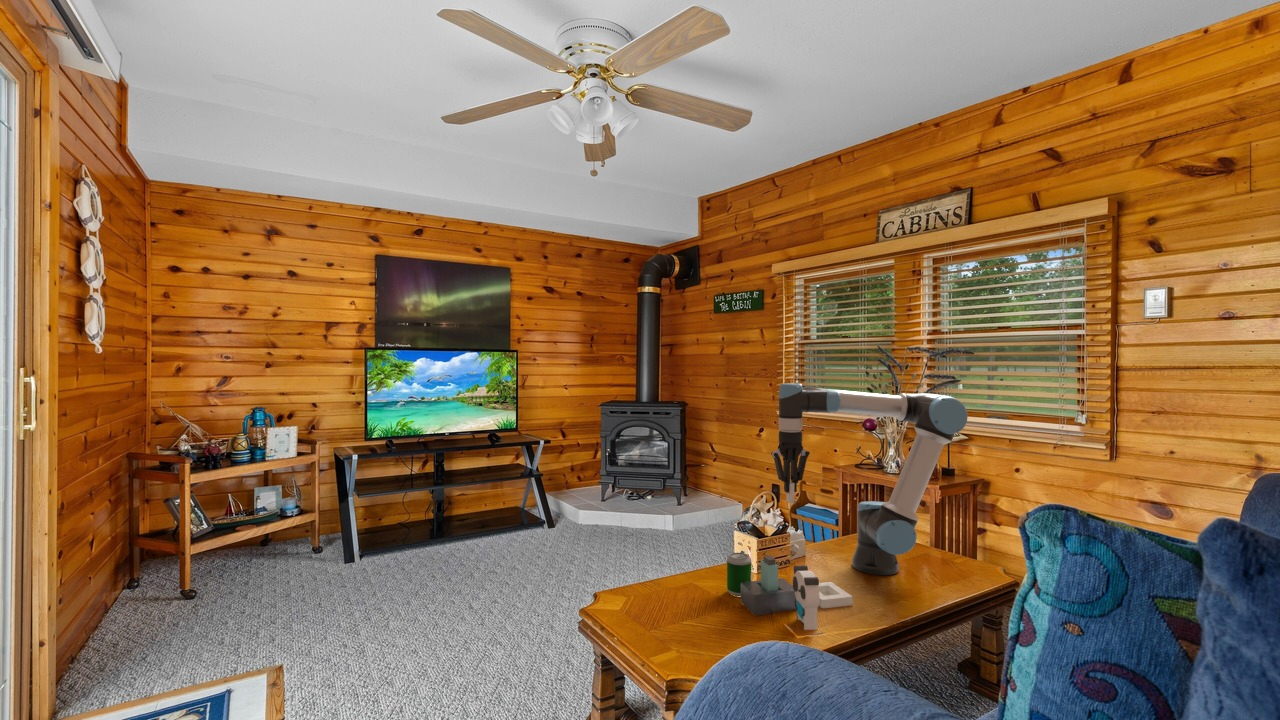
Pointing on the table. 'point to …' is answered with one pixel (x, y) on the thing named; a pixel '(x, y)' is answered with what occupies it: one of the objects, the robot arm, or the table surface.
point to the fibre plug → (769, 574)
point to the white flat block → (833, 596)
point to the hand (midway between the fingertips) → (790, 502)
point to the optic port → (768, 597)
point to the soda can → (737, 572)
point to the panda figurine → (806, 597)
